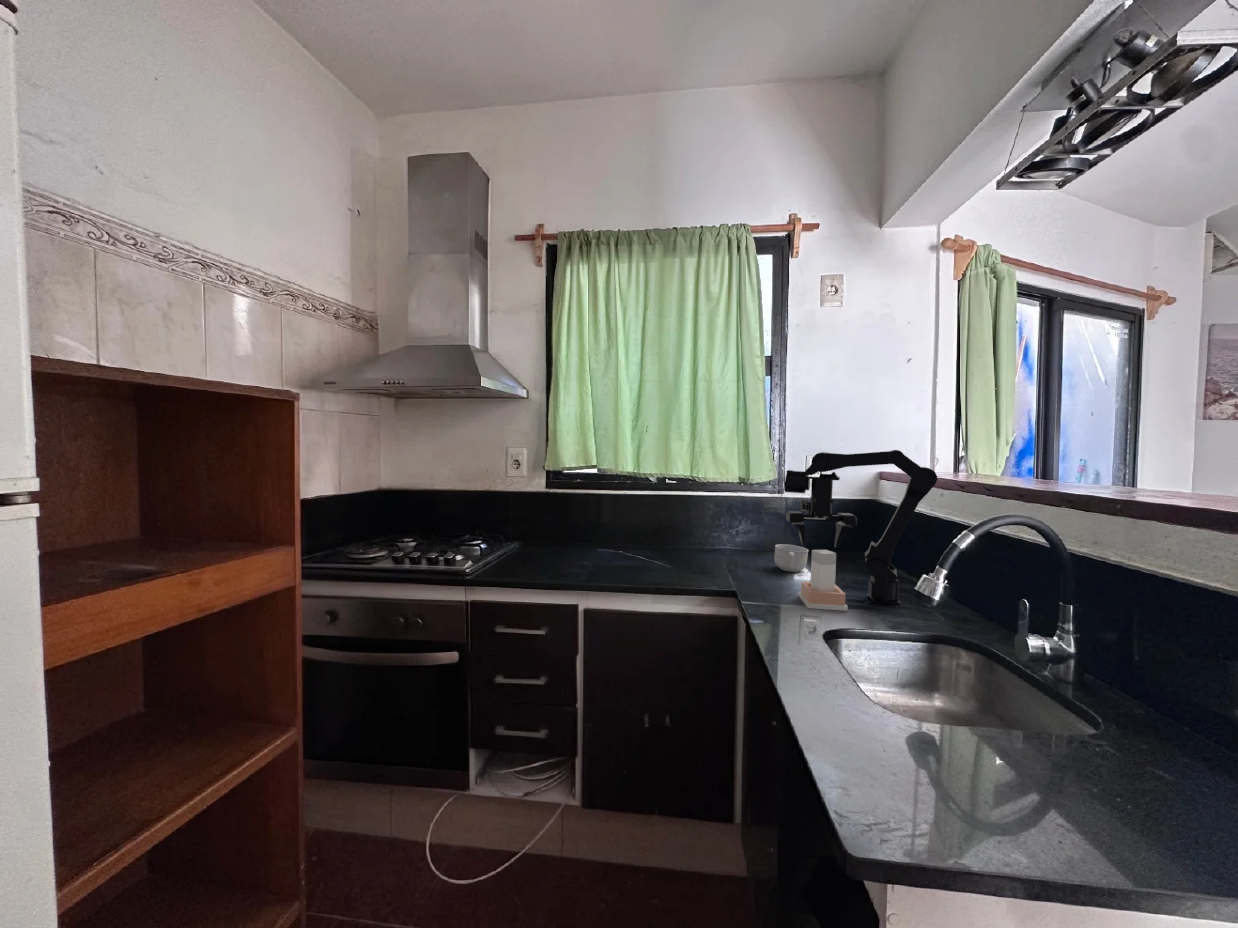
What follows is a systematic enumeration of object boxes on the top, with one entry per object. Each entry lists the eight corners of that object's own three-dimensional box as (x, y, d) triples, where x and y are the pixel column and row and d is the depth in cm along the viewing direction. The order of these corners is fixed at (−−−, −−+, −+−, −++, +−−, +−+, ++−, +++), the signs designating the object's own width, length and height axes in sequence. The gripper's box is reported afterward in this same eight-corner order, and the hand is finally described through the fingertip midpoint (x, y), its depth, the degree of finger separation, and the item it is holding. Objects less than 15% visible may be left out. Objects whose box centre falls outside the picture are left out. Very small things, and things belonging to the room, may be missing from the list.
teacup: (777, 564, 168) (778, 542, 168) (809, 568, 162) (810, 546, 162) (768, 573, 156) (769, 549, 156) (803, 578, 151) (803, 554, 150)
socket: (835, 598, 132) (836, 583, 131) (847, 610, 122) (848, 594, 122) (798, 595, 133) (799, 581, 133) (807, 607, 123) (808, 592, 123)
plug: (824, 595, 130) (826, 549, 129) (834, 600, 126) (836, 553, 125) (810, 596, 129) (811, 549, 129) (819, 601, 125) (821, 553, 124)
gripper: (845, 492, 144) (843, 542, 145) (783, 490, 147) (781, 539, 148) (858, 496, 133) (856, 550, 134) (791, 494, 136) (789, 547, 137)
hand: (819, 546), depth 138 cm, fingers open, 9 cm apart
